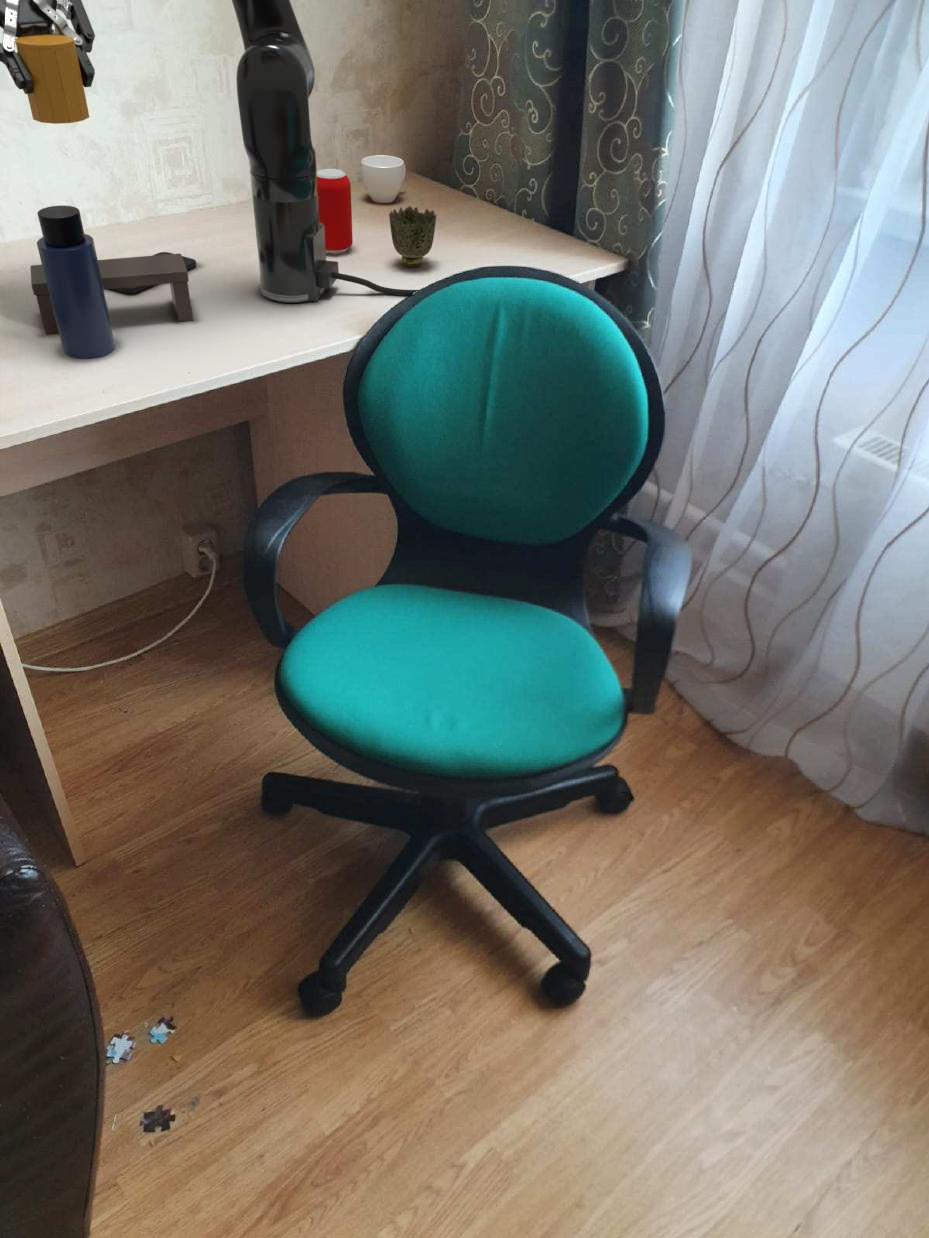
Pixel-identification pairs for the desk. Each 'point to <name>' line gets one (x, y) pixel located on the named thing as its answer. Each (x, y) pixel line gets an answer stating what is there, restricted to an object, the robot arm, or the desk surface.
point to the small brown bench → (125, 282)
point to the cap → (54, 78)
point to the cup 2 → (412, 234)
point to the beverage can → (335, 209)
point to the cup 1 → (383, 177)
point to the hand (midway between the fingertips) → (60, 85)
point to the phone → (188, 263)
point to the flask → (74, 284)
